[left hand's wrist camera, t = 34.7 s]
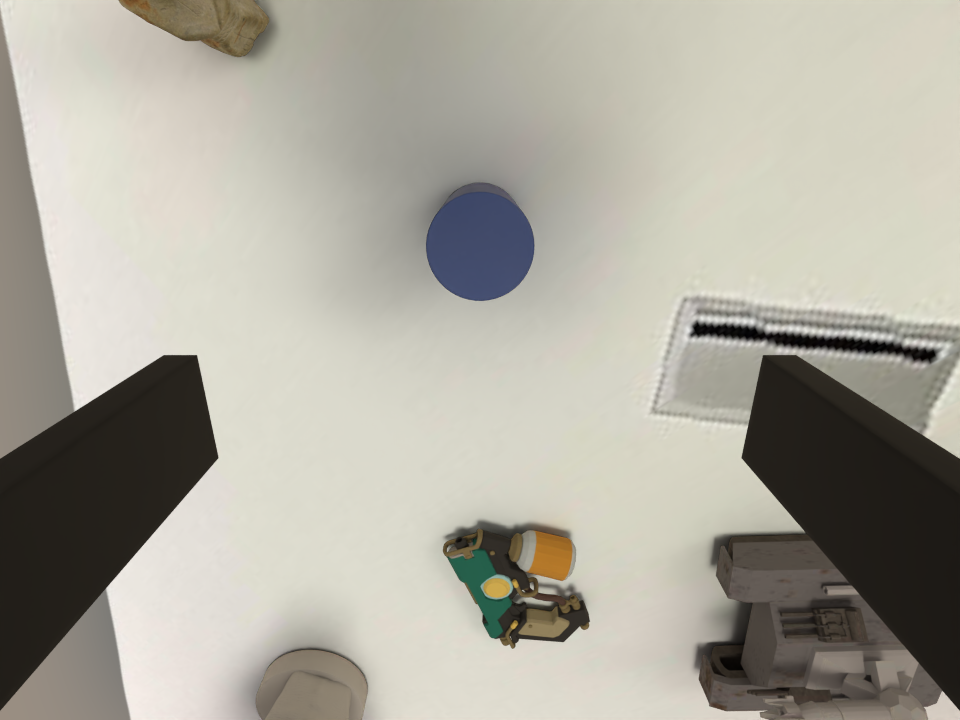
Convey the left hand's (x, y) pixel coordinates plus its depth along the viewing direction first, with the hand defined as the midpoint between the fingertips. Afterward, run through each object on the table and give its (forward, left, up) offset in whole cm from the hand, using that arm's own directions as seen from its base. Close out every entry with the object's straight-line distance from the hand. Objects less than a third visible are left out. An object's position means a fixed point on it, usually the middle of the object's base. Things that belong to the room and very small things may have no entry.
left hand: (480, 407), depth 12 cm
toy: (+38, +42, -35) cm, 66 cm away
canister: (0, 0, -35) cm, 35 cm away
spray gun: (+38, +8, -35) cm, 52 cm away
